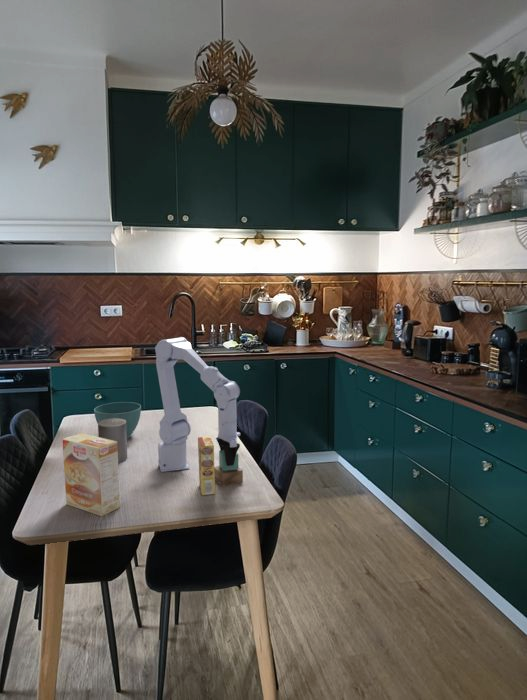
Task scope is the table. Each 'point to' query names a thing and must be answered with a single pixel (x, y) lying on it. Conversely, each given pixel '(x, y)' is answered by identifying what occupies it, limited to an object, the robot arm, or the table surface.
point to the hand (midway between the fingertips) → (227, 462)
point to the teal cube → (223, 462)
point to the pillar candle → (115, 435)
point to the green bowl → (120, 414)
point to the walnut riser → (228, 476)
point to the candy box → (206, 465)
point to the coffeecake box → (91, 473)
